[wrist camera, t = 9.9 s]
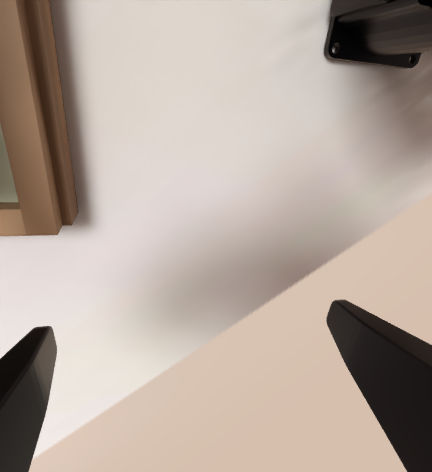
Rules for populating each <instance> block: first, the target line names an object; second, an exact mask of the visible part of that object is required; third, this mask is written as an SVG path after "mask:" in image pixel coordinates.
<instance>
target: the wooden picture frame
mask: <svg viewBox="0 0 432 472" xmlns="http://www.w3.org/2000/svg"><path fill="white" fill-rule="evenodd" d="M77 213H78V208H77V200H76V193H75V186H74V178H73V171H72V164H71V156H70V149H69V142H68V134H67V127H66V120H65V113H64V105H63V98H62V91H61V83H60V76H59V69H58V61H57V54H56V47H55V39H54V32H53V25H52V18H51V10H50V3H49V0H0V236H31V235H58V233H59V231H60V229H61V227H62V225H72V224H73V222H74V220H75V217H76V215H77Z"/></svg>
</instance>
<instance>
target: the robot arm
mask: <svg viewBox="0 0 432 472" xmlns="http://www.w3.org/2000/svg"><path fill="white" fill-rule="evenodd" d="M331 15H332V16H331V20H330V25H329V30H328V34H327V39H326V44H325V49H324V52H325V55H326V57H327V58H330V59H337V60H345V61H352V62H360V63H367V64H375V65H382V66H390V67H397V68H413V67H414V66H415V65H416V64H417V63H418V61H419V58H420V55H421V52H429V51H432V0H333V1H332V6H331ZM334 44H335V46H336V50H335V52H334V53H333V52H332V46H333V45H334ZM410 56H411V60H410V62H409V58H410ZM327 325H328V327H329V329H330V332H331V334H332V336H333V338H334V340H335V343H336V345H337V347H338V349H339V351H340V353H341V355H342V358H343V360H344V362H345V364H346V366H347V367H348V370H349V371H350V373H351V375H352V377H353V378H354V380H355V382H356V384H357V385H358V387H359V389H360V390H361V392H362V394H363V396H364V397H365V399H366V401H367V403H368V404H369V406H370V408H371V409H372V411H373V413H374V415H375V416H376V418H377V420H378V422H379V423H380V425H381V427H382V429H383V430H384V432H385V433H386V435H387V437H388V439H389V441H390V443H391V444H392V446H393V448H394V449H395V451H396V453H397V455H398V456H399V458H400V460H401V461H402V463H403V465H404V467H405V469H406V470H407V472H432V345H430V344H428V343H426V342H425V341H423V340H421V339H419V338H417V337H415V336H413V335H411V334H409V333H407V332H406V331H404V330H402V329H400V328H398V327H396V326H394V325H392V324H390V323H388V322H387V321H385V320H382V319H381V318H379V317H377V316H375V315H373V314H371V313H369V312H367V311H366V310H364V309H362V308H360V307H358V306H356V305H354V304H352V303H350V302H348V301H346V300H335V301H333V302H332V304H331V306H330V309H329V312H328V315H327ZM56 355H57V346H56V341H55V337H54V332H53V329H52V327H51V326H42V327H35V328H34V329H32V330H31V331H30V332H29V333H28V334H27V335H26V336H25V337H23V338H22V339H21V340H20V341H19V342H18V343H17V344H16V345H15V346H14V347H13V348H11V349H10V350H9V351H8V352H7V353H6V354H5V355H4V356H3V357H2V358H1V359H0V472H28V471H29V468H30V465H31V461H32V458H33V455H34V451H35V448H36V444H37V441H38V438H39V434H40V431H41V428H42V424H43V421H44V417H45V414H46V410H47V405H48V400H49V395H50V389H51V383H52V378H53V372H54V366H55V361H56Z"/></svg>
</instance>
